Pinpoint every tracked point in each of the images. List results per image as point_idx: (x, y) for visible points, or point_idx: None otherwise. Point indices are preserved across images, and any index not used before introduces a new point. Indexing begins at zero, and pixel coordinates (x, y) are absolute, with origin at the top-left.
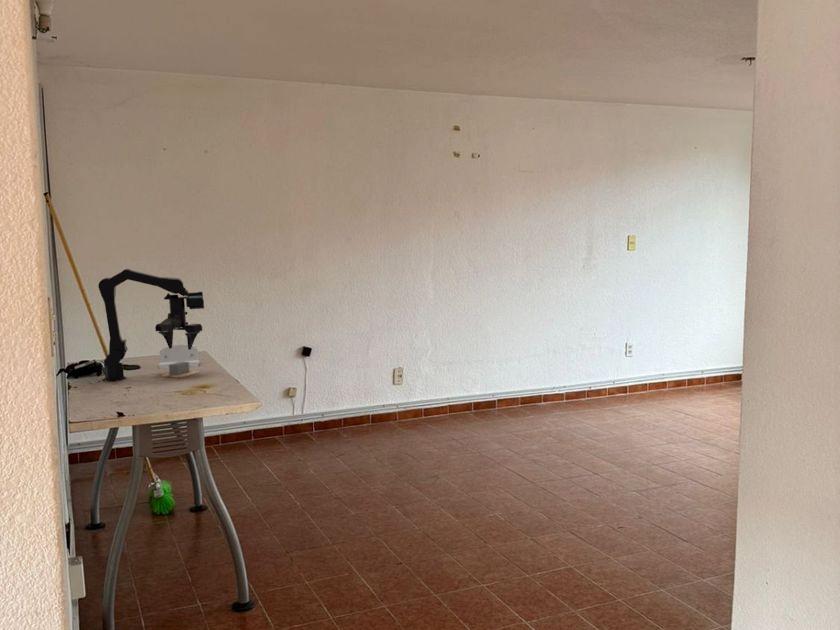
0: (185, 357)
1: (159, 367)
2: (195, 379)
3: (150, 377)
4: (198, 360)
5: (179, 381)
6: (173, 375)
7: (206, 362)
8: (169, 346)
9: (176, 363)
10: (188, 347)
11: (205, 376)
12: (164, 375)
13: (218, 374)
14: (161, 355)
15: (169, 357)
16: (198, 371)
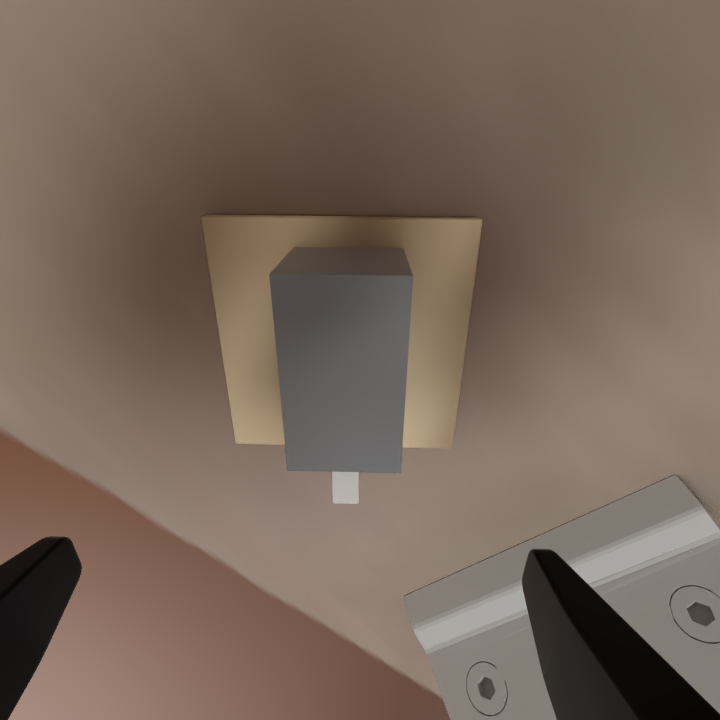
0: (526, 652)
1: (683, 485)
2: (28, 186)
3: (592, 125)
4: (426, 647)
5: (95, 21)
6: (336, 226)
7: (426, 669)
8: (558, 584)
9: (368, 373)
10: (16, 570)
11: (66, 333)
12: (451, 217)
13: (39, 423)
14: None
15: (661, 616)
16: (235, 437)
